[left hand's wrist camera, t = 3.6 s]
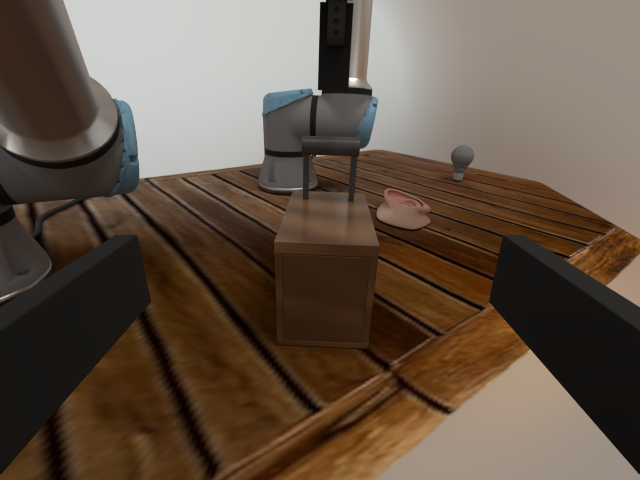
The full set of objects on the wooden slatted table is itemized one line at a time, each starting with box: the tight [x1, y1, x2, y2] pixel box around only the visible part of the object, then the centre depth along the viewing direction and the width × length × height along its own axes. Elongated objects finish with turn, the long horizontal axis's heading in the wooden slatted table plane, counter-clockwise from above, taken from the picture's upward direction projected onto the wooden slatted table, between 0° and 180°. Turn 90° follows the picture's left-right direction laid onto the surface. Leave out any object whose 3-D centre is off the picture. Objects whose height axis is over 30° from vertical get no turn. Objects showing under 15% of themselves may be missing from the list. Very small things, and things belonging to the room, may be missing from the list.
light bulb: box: [451, 145, 474, 181], centre depth 97 cm, size 6×6×10 cm
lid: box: [274, 136, 379, 257], centre depth 36 cm, size 16×9×9 cm, turn 178°
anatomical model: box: [377, 189, 431, 230], centre depth 70 cm, size 13×4×12 cm
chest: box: [275, 253, 378, 349], centre depth 40 cm, size 15×9×11 cm, turn 178°
